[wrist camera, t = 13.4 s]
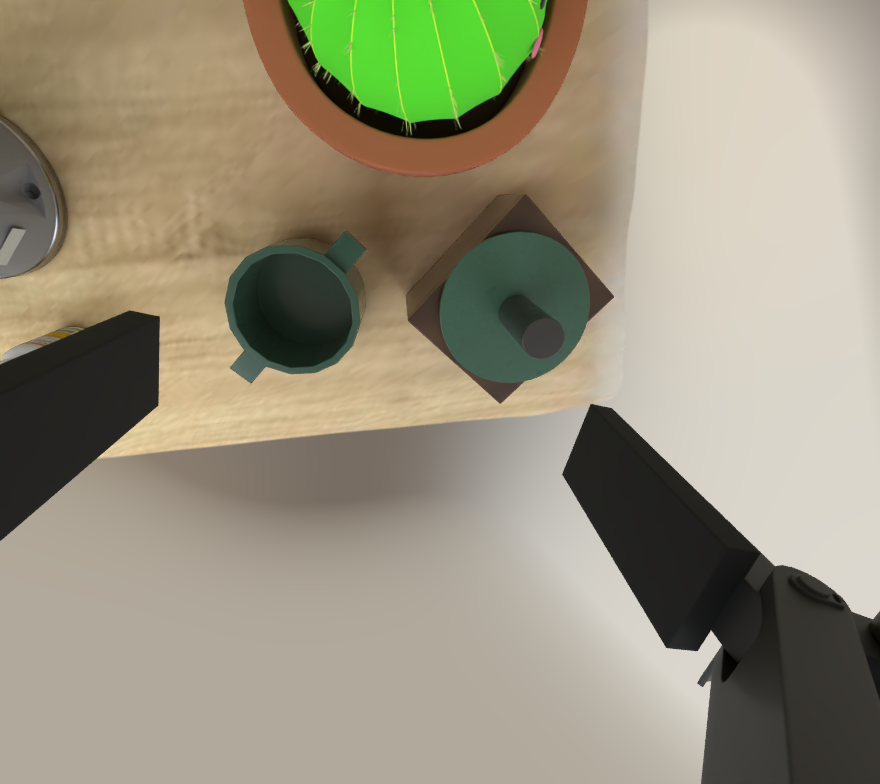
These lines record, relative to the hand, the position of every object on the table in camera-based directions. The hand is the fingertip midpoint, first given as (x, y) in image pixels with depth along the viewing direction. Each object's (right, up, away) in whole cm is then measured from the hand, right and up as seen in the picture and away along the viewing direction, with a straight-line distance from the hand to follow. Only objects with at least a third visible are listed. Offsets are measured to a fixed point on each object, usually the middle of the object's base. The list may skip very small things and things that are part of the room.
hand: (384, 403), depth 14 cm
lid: (+8, +7, +25) cm, 27 cm away
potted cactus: (-1, +32, +27) cm, 41 cm away
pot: (-12, +11, +34) cm, 38 cm away
